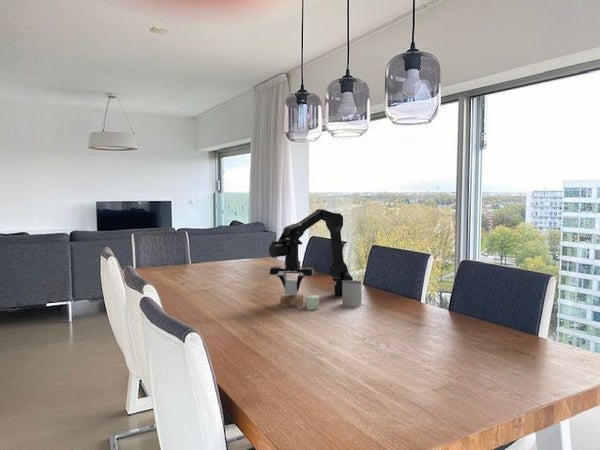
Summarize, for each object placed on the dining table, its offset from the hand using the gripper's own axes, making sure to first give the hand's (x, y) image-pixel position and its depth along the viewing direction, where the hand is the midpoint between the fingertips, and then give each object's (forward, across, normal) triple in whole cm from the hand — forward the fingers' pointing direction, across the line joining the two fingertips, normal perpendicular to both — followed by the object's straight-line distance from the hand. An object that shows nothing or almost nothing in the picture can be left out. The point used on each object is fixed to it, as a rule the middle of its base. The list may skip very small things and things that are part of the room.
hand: (291, 290), depth 206 cm
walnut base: (+6, 0, 0) cm, 6 cm away
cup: (+6, -26, -5) cm, 27 cm away
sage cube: (+6, -10, +4) cm, 13 cm away
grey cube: (+1, 0, 0) cm, 1 cm away
